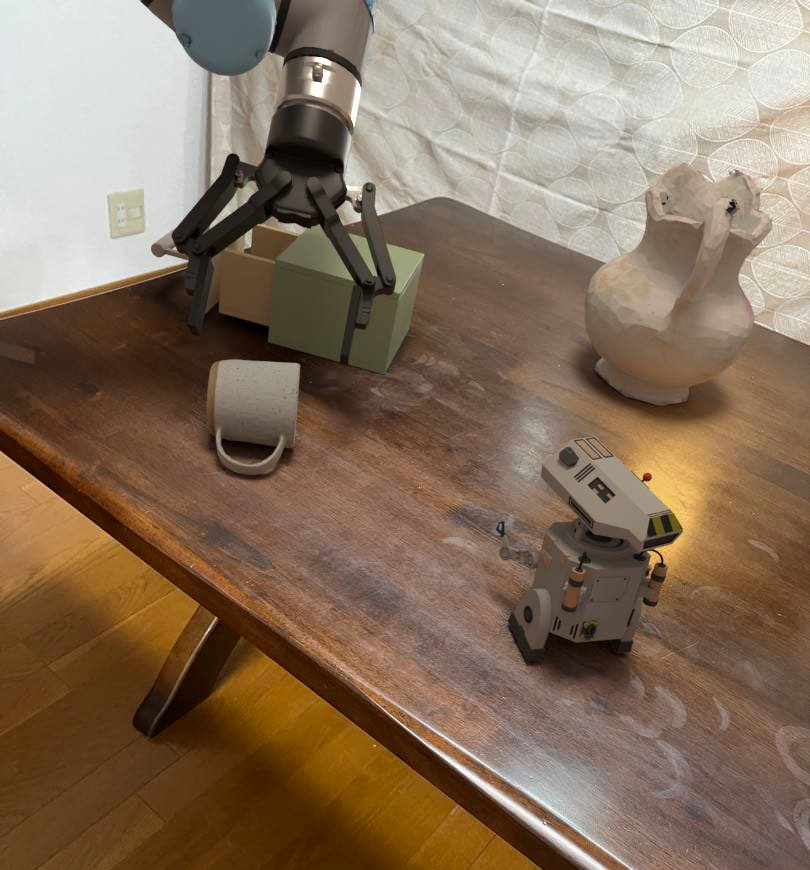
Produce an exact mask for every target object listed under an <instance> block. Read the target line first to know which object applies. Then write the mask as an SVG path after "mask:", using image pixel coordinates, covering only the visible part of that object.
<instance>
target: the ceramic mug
mask: <svg viewBox="0 0 810 870" xmlns="http://www.w3.org/2000/svg"><path fill="white" fill-rule="evenodd" d="M300 377H301V364H300V363H297V362H285V361H284V362H282V361H281V362H280V361H268V360H267V361H264V360H262V361H261V360H246V359H225V360H217V361H215V362H214V363H213V364H212V365H211V366H210V370H209V375H208V382H207V393H206V394H207V395H206V409H205V410H206V413H205V417H206V419H205V420H206V427H207V430H208V432H209V434H211V435H212V436H213V437H215V447H216V453H217V456H218V459H219V461H220V463H222V464H223V465H224V467H226V468H227V469H228V470H230V471H232V472H234V473H236V474H239V475H245V476H257V475H262V474H264V473H266V472H269V471H270V470H271V469H273V467H274V466H275V465H276V464H277V463H278V461H279V460H280V458H281V456H282V454H283V451H284V449H293V448H294V447H295V443H296V433H297V419H298V411H299V409H298V408H299V393H300V392H299V391H300ZM222 440H227V441H234V442H243V443H250V444H255V445H262V446H269V447H276V448H275V449H274V451H273V452H272V453H271V454H270V455H269V456H268V457H267V458H265V459H263V460H262V461H260V462H257V463H254V464H248V463H241V462H240V461H238V460H237V459H234V458H232V457H231V456H230V455H228V454H226V452H225V450H224V448H223V446H222Z"/></svg>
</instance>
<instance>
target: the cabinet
mask: <svg viewBox="0 0 810 870" xmlns="http://www.w3.org/2000/svg"><path fill="white" fill-rule="evenodd" d="M300 234H301V235H300V236H299V237H298V238H297V239H296V240H295V241H294V242H293V243H292V244H291V245H290V246H289V247H288V248H287V249H286V250H285V251H283V252H282V253H281V254H280V255H279V256H278V257H277V258H276V260H275V270H274V281H273V291H272V302H271V313H270V324H269V326H268V335H267V343H270V344H273V345H275V346H276V345H277V346H281V347H284V348H288V349H291V350H295V351H298V352H301V353H305V354H308V355H313V356H316V357H319V358H323V359H327V360H330V361H334V362H337V363H340V353H341V348H342V343H343V337H344V332H345V327H346V322H347V316H348V311H349V306H350V300H351V295H352V290H353V285H355V286H357V285H356V283H355V282H354V280H353V278H352V277H351V275H350V273H349V272H348V270H347V268H346V266H345V265H344V263H343V261H342V260H341V258H340V256H339V255H338V253H337V251H336V249H335V248H334V246H333V244H332V243H331V241H330V239H329V238H327V236H326V235H325V233H324V231H323V230H322V228H321V226H320V225H317V226H313V227H311V229H309V228H305V230H303V232H302V233H300ZM348 234H349V236H350V238H351V239H352V241H353V243H354V244H355V246H356V248H357V249H358V251H359V253H360V254H361V256H362V258H363V260H364V261H365V263H366V265H367V266H368V268H369V270H370V271H371V273H372V275H373V276H377V273H376V269H375V266H374V263H373V260H372V256H371V253H370V250H369V246H368V243H367V240H366V237H363V236H360V235H356V234H353V233H350V232H348ZM386 245H387V249H388V252H389V255H390V258H391V262H392V265H393V268H394V272H395V275H396V285H395V290H394V293H393V294H392V295H385V294H381V295H377V296H376V297H375V298H374V299H373V302H372V308H371V313H370V318H369V324H368V326H367V328H366V329H365V330H362V329H357V328H355V331H354V336H353V342H352V347H351V352H350V358H349V363H348V365H347V366H351V367H356V368H358V369H359V368H360V369H363V370H366V371H370V372H373V373H377V374H381V375H385V374H386V373H387V371H388V369H389V367H390V365H391V364H392V362H393V360H394V358H395V356H396V354H397V353H398V351H399V349H400V347H401V345H402V343H403V342H404V339H405V338H406V336H407V334H408V332H409V331H410V327H411V322H412V318H413V317H412V316H413V312H414V307H415V302H416V298H417V292H418V287H419V283H420V278H421V272H422V267H423V263H424V258H425V253H422V252H419V251H415V250H412V249H407V248H404V247H401V246H397V245H393V244H390V243H386Z"/></svg>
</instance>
